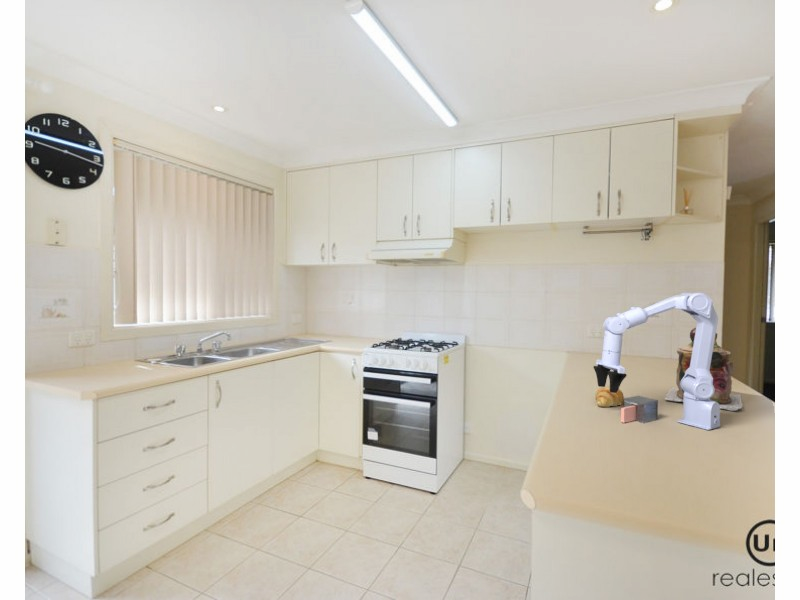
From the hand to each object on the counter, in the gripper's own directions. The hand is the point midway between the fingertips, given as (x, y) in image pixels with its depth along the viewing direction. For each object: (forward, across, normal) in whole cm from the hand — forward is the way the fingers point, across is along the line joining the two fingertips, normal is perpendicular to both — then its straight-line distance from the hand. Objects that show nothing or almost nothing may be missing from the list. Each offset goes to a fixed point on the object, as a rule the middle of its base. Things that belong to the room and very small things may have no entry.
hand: (607, 389), depth 141 cm
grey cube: (+9, +2, +12) cm, 15 cm away
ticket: (+9, +3, +9) cm, 13 cm away
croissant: (+10, -18, +12) cm, 24 cm away
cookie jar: (+6, -21, +53) cm, 58 cm away
